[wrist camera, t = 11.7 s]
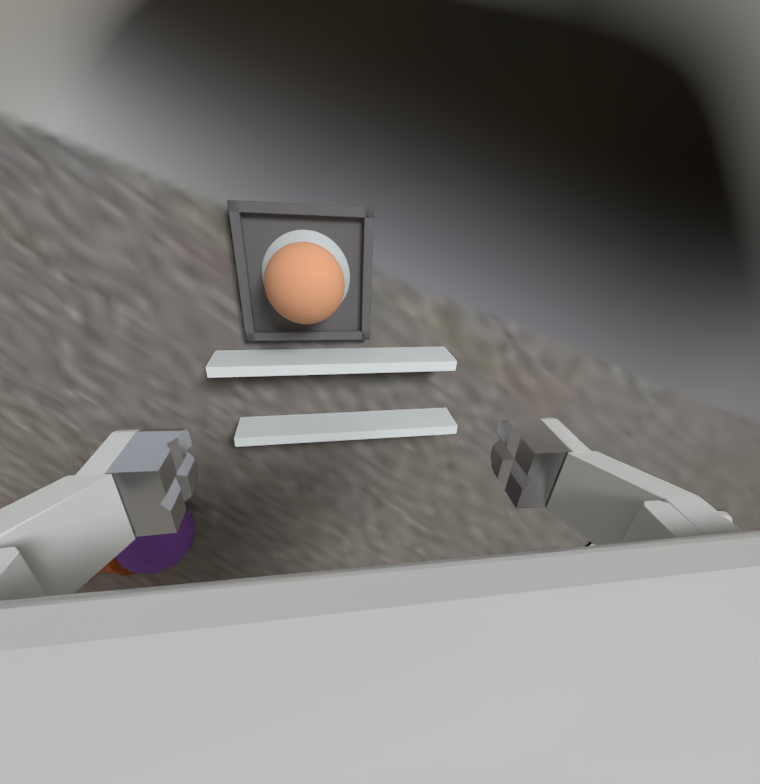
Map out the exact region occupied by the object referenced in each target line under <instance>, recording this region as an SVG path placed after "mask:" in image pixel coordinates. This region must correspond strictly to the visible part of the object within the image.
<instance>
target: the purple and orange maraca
mask: <svg viewBox="0 0 760 784" xmlns="http://www.w3.org/2000/svg"><path fill="white" fill-rule="evenodd" d="M194 528H195V526H194V521H193V518H192V516H191V514H190V513H189V511H188V510H187V509H186V512H185V514H184V517H183V519H182V522H181V524H180V526H179V529H178V531H177V533H170V534H159V535H149V536H139V537H135V540H134V541H133V542H131V543H130V544H129V545H128V546H127V547H126V548H125V549H124V550H122V551H121V552H120V553H119V554H118V555H117V556H116V557H115V558H113V559H112V560H111V561H110V562H109V563H108V564H107V565H106V566H104V567H103V568H102V569H101V570H100V571H99V572H98V573H97V574H95V575H94V576H93V577H95V576H96V575H98V574H99V573H100V572H106V573H113V574H120V575H132V574H135V573H147V574H155V573H158V572H160V571H163V570H165V569H167V568H169V567H171V566H173V565H175V564H177V563H178V562H179V561H180V560H181V558H182V557H183V556H184V555H185V554H186V553H187V551H188V550H189V548H190V547H191V545H192V542H193V539H194ZM93 577H92V578H93ZM92 578H91V579H92ZM91 579H90V580H91Z"/></svg>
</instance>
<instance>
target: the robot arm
mask: <svg viewBox="0 0 760 784" xmlns="http://www.w3.org/2000/svg"><path fill="white" fill-rule="evenodd" d="M496 433H497V435H498V437H499V440H498V441H497V442H496V443H495V444H494V445H493V447H492V452H491V465H492V468H493V472H494V473H495V475H496V477H497V478H498V479H499V480H501V481H502V482H504V483H505V484H506V488H505V491H506V493H507V495H508V496H509V498H510V499H511V501H512V502H513V504H514V506H515V507H516V509H517V508H540V507H547V508H546V509H547V510H548V511H550V512H551V513H553V514H554V515H555V516H557V517H558V518H559V519H561V520H562V521H563V522H565V523H566V524H567V525H569V526H570V527H571V528H573V529H574V530H575V531H577V532H578V533H579V534H581V535H582V536H583V537H585V538H586V539H587V540H589V541H590V542H591V543H592V544H590V545H589V546H584V547H574V548H563V549H553V550H542V551H531V552H520V553H509V554H498V555H487V556H476V557H464V558H453V559H442V560H432V561H421V562H410V563H400V564H389V565H378V566H368V567H357V568H346V569H336V570H325V571H314V572H304V573H293V574H282V575H271V576H261V577H250V578H239V579H228V580H218V581H207V582H196V583H185V584H175V585H164V586H153V587H142V588H132V589H121V590H110V591H99V592H89V593H78V594H74V593H75V592H76V591H77V590H79V589H80V588H81V587H82V586H83V585H84V584H85V583H86V582H88V581H89V580H90V579H91V578H92V577H93V576H94V575H95V574H97V573H98V572H99V571H100V570H101V569H102V568H103V567H104V566H106V565H107V564H108V563H109V562H110V561H111V560H112V559H113V558H115V557H116V556H117V555H118V554H119V553H120V552H121V551H122V550H124V549H125V548H126V547H127V546H128V545H129V544H130V543H131V542H133V541H134V540H135V537H139V536H149V535H159V534H170V533H177V531H178V529H179V526H180V524H181V522H182V519H183V517H184V514H185V512H186V507H185V503H184V502H185V501H186V500H187V499H189V498H190V497H191V496H192V495H193V493H194V490H195V487H196V481H197V464H196V459H195V458H194V457H193V456H192V455H191V454H190V453H189V452H188V451H189V449H190V446H191V444H192V442H191V438H190V435H189V432H188V431H187V430H186V429H146V430H118V431H114V432H112V433H111V434H110V436H109V437H108V438H107V439H106V440H105V441H104V443H103V444H102V445H101V446H100V447H99V448H98V449H97V451H96V452H95V453H94V454H93V455H92V456H91V458H90V459H89V460H88V461H87V462H86V463H85V465H84V466H83V467H82V468H81V469H80V470H79V471H78V473H77V474H76V475H72V476H66V477H64V478H62V479H60V480H58V481H56V482H54V483H52V484H50V485H48V486H46V487H44V488H42V489H40V490H38V491H36V492H34V493H32V494H30V495H28V496H26V497H24V498H22V499H20V500H18V501H16V502H14V503H12V504H10V505H8V506H6V507H4V508H2V509H0V784H760V530H755V531H744V532H743V531H741V530H740V529H739V528H738V527H736V526H735V525H734V524H733V523H732V517H731V516H730V515H729V514H728V513H727V512H724V511H716V510H715V509H714V508H713V507H711V506H710V505H709V504H708V503H707V502H705V501H704V500H703V499H702V498H700V497H699V496H697V495H695V494H692V493H690V492H688V491H686V490H683V489H681V488H679V487H677V486H674V485H672V484H670V483H667V482H665V481H663V480H661V479H658V478H656V477H654V476H652V475H649V474H647V473H645V472H642V471H640V470H638V469H636V468H633V467H631V466H629V465H627V464H624V463H622V462H620V461H617V460H615V459H613V458H611V457H608V456H606V455H604V454H601V453H599V452H597V451H593V452H591V451H590V450H589V449H588V448H587V447H586V446H585V445H584V444H583V443H582V442H581V441H580V440H579V439H578V438H577V437H576V436H574V435H573V434H572V433H571V432H570V431H569V430H568V429H567V428H566V427H565V426H564V425H563V424H562V423H561V422H560V421H559V420H558V419H555V418H552V417H551V418H536V419H521V420H502V421H501V422H500V424H499V425H498V429H497V432H496Z"/></svg>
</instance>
